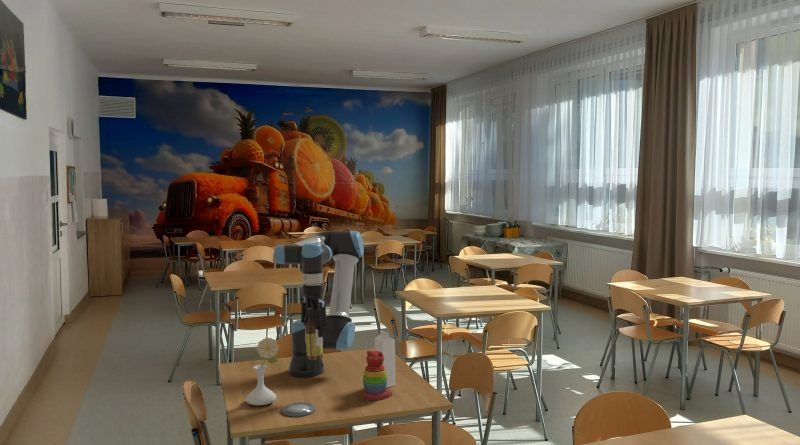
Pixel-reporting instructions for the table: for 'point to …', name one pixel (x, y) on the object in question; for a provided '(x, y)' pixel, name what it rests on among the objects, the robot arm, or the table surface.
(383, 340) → the milk
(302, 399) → the table surface
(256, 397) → the flower in vase
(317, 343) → the robot arm
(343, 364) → the table surface
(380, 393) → the stacking bear
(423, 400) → the table surface
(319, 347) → the sauce bottle
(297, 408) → the coaster
